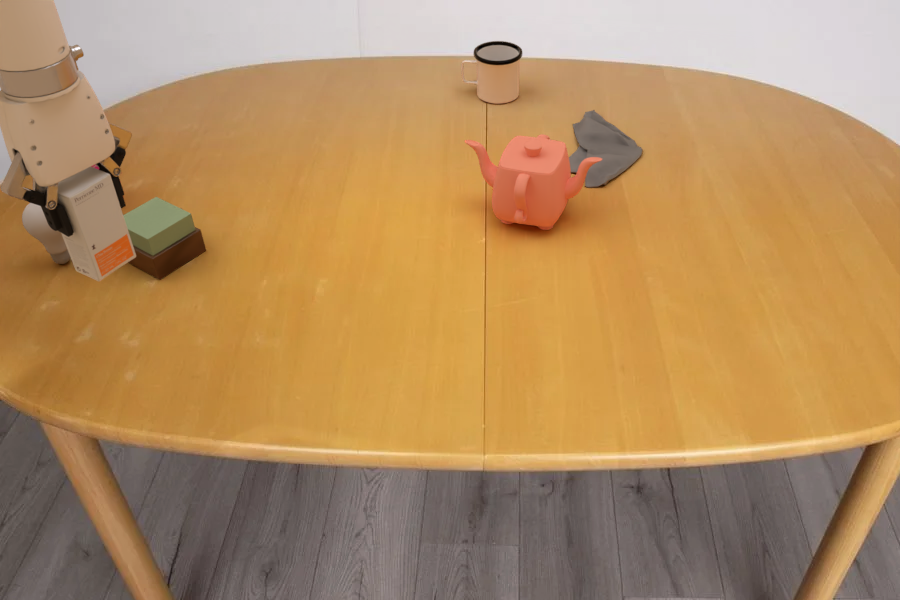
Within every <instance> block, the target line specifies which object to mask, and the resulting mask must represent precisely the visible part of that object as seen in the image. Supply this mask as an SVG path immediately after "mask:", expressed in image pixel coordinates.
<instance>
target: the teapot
mask: <svg viewBox="0 0 900 600" xmlns="http://www.w3.org/2000/svg"><path fill="white" fill-rule="evenodd" d="M464 143H465V144H466V145H468V146H469V147H470V148H471V149H473V151H474V152H475V154H476V156H477V159H478V163H479V169H480V172H481V175H482V178H483V180H484V181H485V182H486V183H487V184H488V185H489V186H490V187H491V188H492V192H491V193H492V194H491V207H492V211H493V214H494V216H495V218H496V219H498V220H500V222H501V223H503V224H505V225H511V224H514V223H515V224H519V225H528V226H533V227H535V226H536V227H537V228H538V229H540V230H542V231H548V230H551V229H553V228H554V225H555V224H556V223H557V222H558V220H559V219H560V218H561V215H562V214H563V213H564V210H565V209H566V206H567V204H568V202H569V199H572V198H574V197H576V196H577V195H578V194H579V193H580V192H581V191H582V189H583V187H584V186H585V178H586V175H587V172H588V169H589V168H590V167H591V166H592V165H593V164H595V163H597V162H599V161H601V160H602V158H599V157H590V158H586V159H584V160H583V161H582V162H581V163H580V165H579V168H578V171H577V173H575V175H574V176H572V172H571V169H570V162H569V157H570V156H569V154H568V153H569V152H568V147H567V144H566V143H565V142H564V141H561V140H555V139H551V138H550V136H549V135H547V134H543V133H542V134H538V135H537V136H536V137H535V136H528V135H516V136H514V137H513V138H512V139H511V140H510V141H509V142H508V143H507V145H506V146H505V148H504V149H503V152H502V154H501V156H500V159H499V161H498V165H496V164H495V163H493V162H492V161H491V158H490V157H489V154H488V151H487V149H486V148H485V146H484V145H483V144H482V143H481V142H479V141H476V140H473V139H465V140H464Z"/></svg>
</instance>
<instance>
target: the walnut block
mask: <svg viewBox="0 0 900 600" xmlns="http://www.w3.org/2000/svg"><path fill="white" fill-rule="evenodd" d="M195 229H196V230H194V231H193V232H191V233H190V234H188V235H186V236H185V237H183V238H181V239H180V240H178V241H176V242H175V243H173V244H172V245H170V246H168V247H167V248H165V249H163V250H162V251H160V252H159V253H157V254H155V255H154V256H153V255H151V254H149V253H147V252H145V251H143V250H141V249H139V248H137V247H136V246H134V245H133V247H134V250H135V253H136V258H134V259H132V260H131V261H129V262H128V263H127V264H130V265H131V266H133V267H134V268H137V269H138V270H140V271H143V272H144V273H146V274H148V275H150V276H151V277H153V278H155V279H157V280H159V281H160V280H162V279H164V278H166V277H167V276H169V275H170V274H172V273H174V271H177V270H178V269H179V268H181V267H183V266H184V265H186V264H188V263H189V262H191V261H192V260H194V259H196V258H197V257H198V256H200V255H202V254H203V253H205V252H207V248H206V244H205V240H204V237H203V233H202V229H200V228H199V227H197V226H195Z"/></svg>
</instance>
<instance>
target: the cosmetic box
mask: <svg viewBox="0 0 900 600" xmlns="http://www.w3.org/2000/svg"><path fill="white" fill-rule="evenodd" d="M57 202H58V203H59V204H61V205H63V206H64V208H65V211H66V213H67V216H68V218H69V221H70V223H71V226H72V229H73V231H74V233H73V235H71V236H70V237H68V236H66V235H64V234H62V233H61V234H62V237H63V239H64V242H65V244H66V247H67V249H68V252H69V255H70V257H71V258H70V261H71V262H72V265H73V267H74V270H75V271H76V272H77V273H79V274H81V275H83V276H86V277H88V278H90V279H92V280H95V281H97V282H101V281H102V280H105V278H107V277H109V276H110V275H111V274H113V273H114V272H116V271H117V270H119V269H120V268H122V267H123V266H125V265H126V264H129V263H128V262H129V261H131V260H132V259H134V258H136V253H135V250H134V247H133V244H132V241H131V238H130V235H129V232H128V229H127V225H126V222H125V219H124V216H123V215H124V213H123V210H122V208H121V207H120V204H119V200H118V197H117V194H116V191H115V188H114V185H113V182H112V179H111V175H110V174H108V173H106V172H103V171H101V170H98V169H96V168H93V167H89V168H87V169H85V170H83V171H81V172H79V173H77V174H75V175H73V176H71V177H69V178H67V179H64V180H62V181H60V182H58V199H57Z"/></svg>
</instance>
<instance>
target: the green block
mask: <svg viewBox="0 0 900 600" xmlns="http://www.w3.org/2000/svg"><path fill="white" fill-rule="evenodd" d="M123 216H124V219H125V222H126V225H127V229H128V232H129V235H130V238H131V241H132V244H133V245H134V246H136V247H137V248H139V249H141V250H143V251H145V252H147V253H149V254H151V255H153V256H154V255H155V254H157V253H159V252H160V251H162V250H163V249H165V248H167V247H168V246H170V245H172V244H173V243H175V242H176V241H178V240H180V239H181V238H183V237H185V236H186V235H188V234H190V233H191V232H193V231H194V230H196V229H195V227H196V226H195V222H194V219H193V216H192V213H191V212H189V211H187V210H185V209H183V208H181V207H179V206H176V205H174V204H173V203H170V202H168V201H167V200H164V199H162V198H160V197H158V196H155V197H153V198H151V199H149V200H147V201H146V202H144V203H142V204H141V205H139V206H137V207H135V208H133V209H131V210H130V211H128V212H126V213H124V214H123Z"/></svg>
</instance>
